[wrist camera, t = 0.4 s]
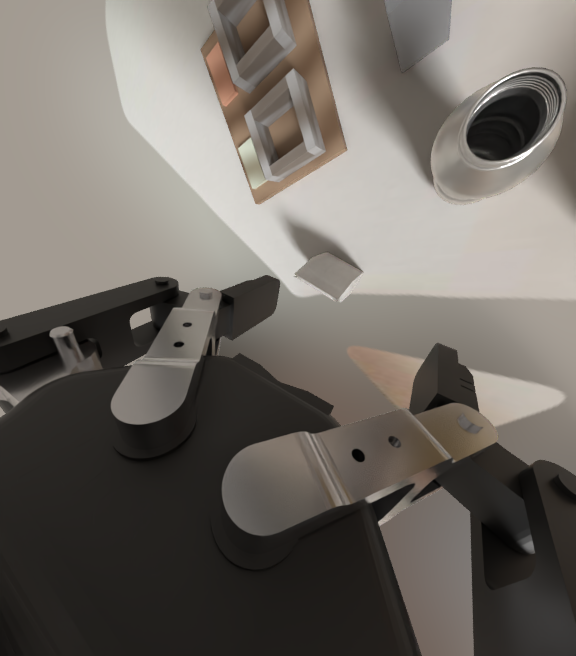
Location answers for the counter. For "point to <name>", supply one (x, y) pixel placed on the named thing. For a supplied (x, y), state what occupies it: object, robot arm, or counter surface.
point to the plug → (418, 27)
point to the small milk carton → (330, 276)
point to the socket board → (273, 90)
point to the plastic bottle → (498, 136)
